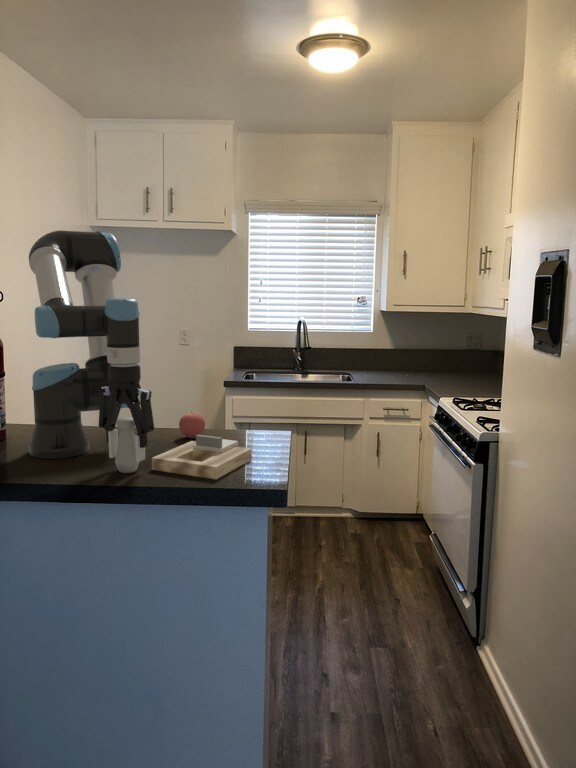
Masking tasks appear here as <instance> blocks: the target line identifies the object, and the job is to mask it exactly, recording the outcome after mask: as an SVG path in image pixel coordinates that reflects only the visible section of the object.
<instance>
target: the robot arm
mask: <svg viewBox="0 0 576 768" xmlns="http://www.w3.org/2000/svg"><path fill="white" fill-rule="evenodd" d="M28 263H29V264H28V265H29V268H30V269H31V271H32V273H33V274H35V275H34V276H35V280H36V286H37V292H38V297H39V302H40V305H39V306H37V307H35V309H34V327H35V334H36V335H37V337H39V338H42V339H43V338H44V339H46V338H47V339H48V338H49V339H58V338H59V339H60V338H81V337H82V338H84V337H85V338H87V341H88V348H89V350H88V351H89V358H88V359H87V360H86V361H85V362H84V366H85V367H84V368H83V367H81V368H80V365H79V364H78V363H76V362H69V363H67V362H66V363H58V364H52V365H47V366H44V367H40V368H38V369H37V370H35V371H34V372H33V374H32V387H31V390H32V393H33V411H34V428H33V431H32V435H31V442H29V445H28V449H29V450H28V451H29V456H31V457H32V458H36V459H44V460H56V459H57V460H58V459H67V458H74V457H76V456H77V457H78V456H81V455H84V454H86V453H87V452H89V451H90V440H89V438H88V437H87V435H86V432H85V429H84V426H83V423H82V412H93V411H94V412H95V411H96V412H97V411H99V412H98V427H99V428H103V429H104V430H105V434H106V436H105V437H106V443H107V444H108V453H109V454H108V457H109V458H110V459H112V458H116V452H117V446H118V440H119V428H118V427H117V420H118V419H119V415H120V412H121V410H122V409H125V408H126V409H127V408H128V409H129V412H130V414H131V418H133V420H134V423H135V428H136V432H137V433H136V434H134V436H135V448H136V462H142V461H144V460H146V448H148V434H149V433H151V432H154V431H155V423H154V415H153V407H152V401H151V398H152V390H149V389H148V390H145V389H142V387H141V385H140V381H141V376H142V375H141V374H142V373H141V366H140V365H139V364H140V363H141V347H140V311H139V302H138V301H137V299H135V298H115V292H114V284H113V281H114V280H115V279H116V277H117V275H118V273H119V272H120V271H121V267H122V258H121V250H120V247H119V243H118V241H117V239H116V237H115V236H114V234H112V233H111V232H102V231H99V230H98V231H75V230H54V231H51V232H47V233H46V234H44V235H41V237H40V238H38V239H37V240H36V241H35V242H34V243H33V245H32V247H31V248H30V250H29V253H28ZM66 273H74V277H75V279H76V280H77V281H78V282H79V283H80V284H81V291H82V297H83V298H82V299H83V305H74V302H73V298H72V294H71V289H70V286H69V282H68V279H67V278H68V277H67V275H66Z"/></svg>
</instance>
